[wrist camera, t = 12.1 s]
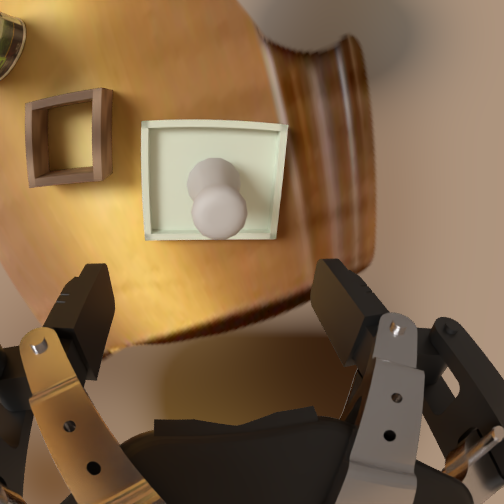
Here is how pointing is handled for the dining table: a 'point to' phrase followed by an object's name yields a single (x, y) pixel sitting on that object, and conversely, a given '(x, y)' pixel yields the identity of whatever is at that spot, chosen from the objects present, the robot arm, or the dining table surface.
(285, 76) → the dining table surface
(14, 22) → the coffee can
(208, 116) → the dining table surface
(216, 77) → the dining table surface
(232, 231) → the salt shaker
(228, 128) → the tray
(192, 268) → the dining table surface
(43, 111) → the holder
